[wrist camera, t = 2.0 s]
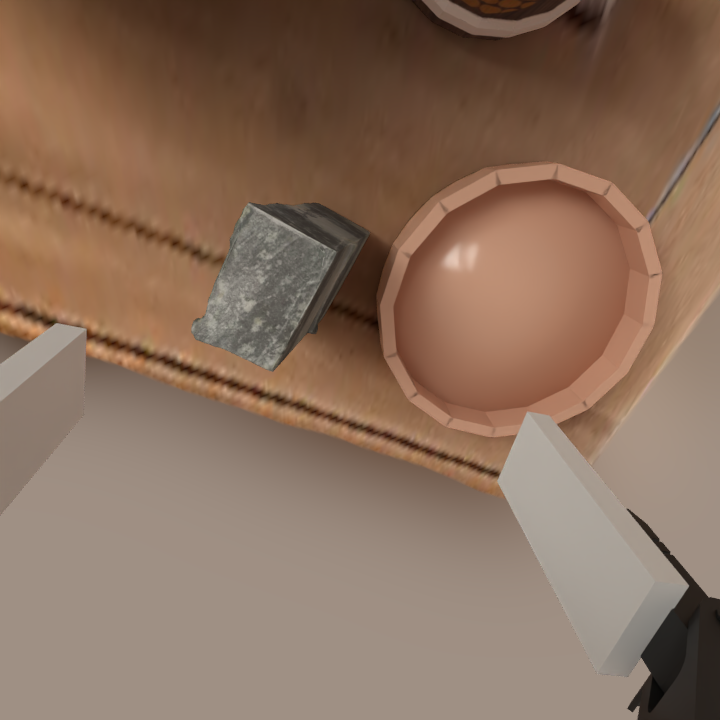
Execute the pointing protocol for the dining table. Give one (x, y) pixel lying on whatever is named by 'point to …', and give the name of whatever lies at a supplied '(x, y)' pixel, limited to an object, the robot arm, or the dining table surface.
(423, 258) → the dish
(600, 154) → the dining table surface
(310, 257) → the stone block
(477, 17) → the mug
